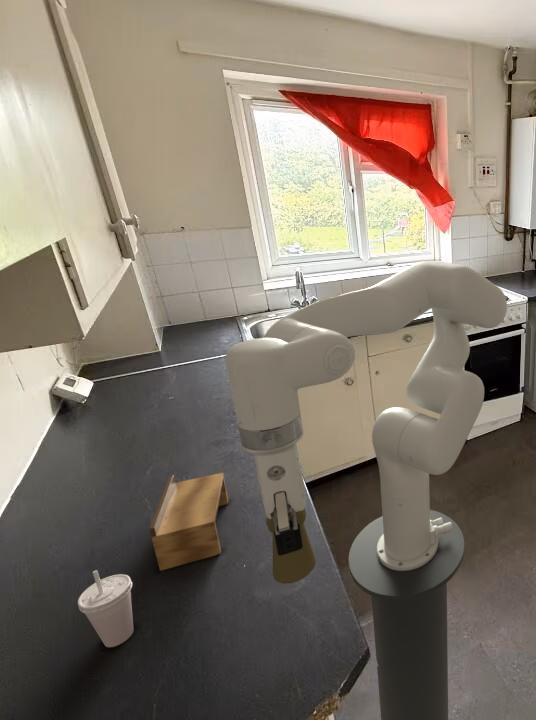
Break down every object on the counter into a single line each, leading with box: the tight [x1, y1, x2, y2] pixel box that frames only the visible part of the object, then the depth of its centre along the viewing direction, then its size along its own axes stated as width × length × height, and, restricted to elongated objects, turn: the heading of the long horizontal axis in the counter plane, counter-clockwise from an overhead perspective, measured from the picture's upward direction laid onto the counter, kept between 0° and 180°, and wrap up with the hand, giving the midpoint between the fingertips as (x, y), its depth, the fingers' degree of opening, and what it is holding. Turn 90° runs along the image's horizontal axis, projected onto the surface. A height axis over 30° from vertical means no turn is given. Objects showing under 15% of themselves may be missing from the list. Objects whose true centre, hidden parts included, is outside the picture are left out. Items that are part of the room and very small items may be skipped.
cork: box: [266, 504, 317, 584], centre depth 63 cm, size 6×6×11 cm
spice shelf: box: [149, 472, 229, 572], centre depth 90 cm, size 10×18×10 cm, turn 26°
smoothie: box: [77, 569, 135, 648], centre depth 68 cm, size 6×6×14 cm
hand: (289, 535), depth 63 cm, fingers closed on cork, 5 cm apart
